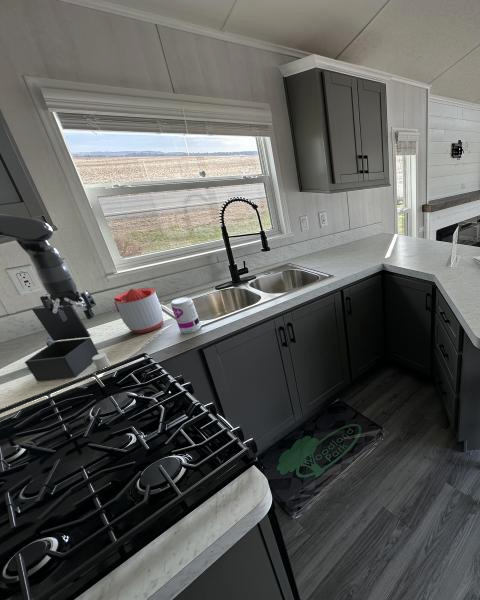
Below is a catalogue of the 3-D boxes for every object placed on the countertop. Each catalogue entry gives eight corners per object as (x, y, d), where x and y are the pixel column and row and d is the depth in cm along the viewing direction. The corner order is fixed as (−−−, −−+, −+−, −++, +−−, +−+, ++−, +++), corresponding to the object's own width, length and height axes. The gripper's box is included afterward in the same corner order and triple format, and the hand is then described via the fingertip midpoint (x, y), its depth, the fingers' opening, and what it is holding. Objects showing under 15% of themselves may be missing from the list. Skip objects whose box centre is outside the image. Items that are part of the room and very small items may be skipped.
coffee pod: (106, 369, 124) (101, 358, 122) (95, 370, 123) (89, 360, 121) (113, 363, 127) (108, 352, 125) (102, 364, 127) (96, 354, 125)
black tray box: (75, 377, 120) (64, 357, 116) (37, 381, 119) (24, 361, 115) (100, 356, 132) (90, 337, 129) (65, 359, 131) (54, 341, 127)
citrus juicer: (122, 328, 153) (103, 289, 144) (165, 316, 163) (151, 279, 154) (123, 341, 142) (104, 300, 133) (170, 328, 152) (154, 288, 143)
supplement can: (188, 335, 145) (177, 305, 138) (176, 332, 148) (165, 302, 142) (205, 327, 151) (195, 298, 145) (193, 323, 155) (183, 295, 148)
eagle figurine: (73, 346, 137) (57, 340, 139) (57, 339, 131) (40, 333, 133) (59, 362, 134) (42, 356, 135) (41, 356, 128) (25, 350, 129)
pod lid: (70, 305, 121) (79, 299, 125) (31, 309, 119) (42, 302, 124) (89, 337, 128) (97, 329, 133) (53, 340, 126) (63, 333, 131)
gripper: (23, 284, 107) (47, 327, 114) (71, 280, 109) (92, 322, 116) (41, 276, 114) (63, 317, 121) (87, 272, 116) (106, 313, 123)
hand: (77, 319), depth 119 cm, fingers open, 8 cm apart
